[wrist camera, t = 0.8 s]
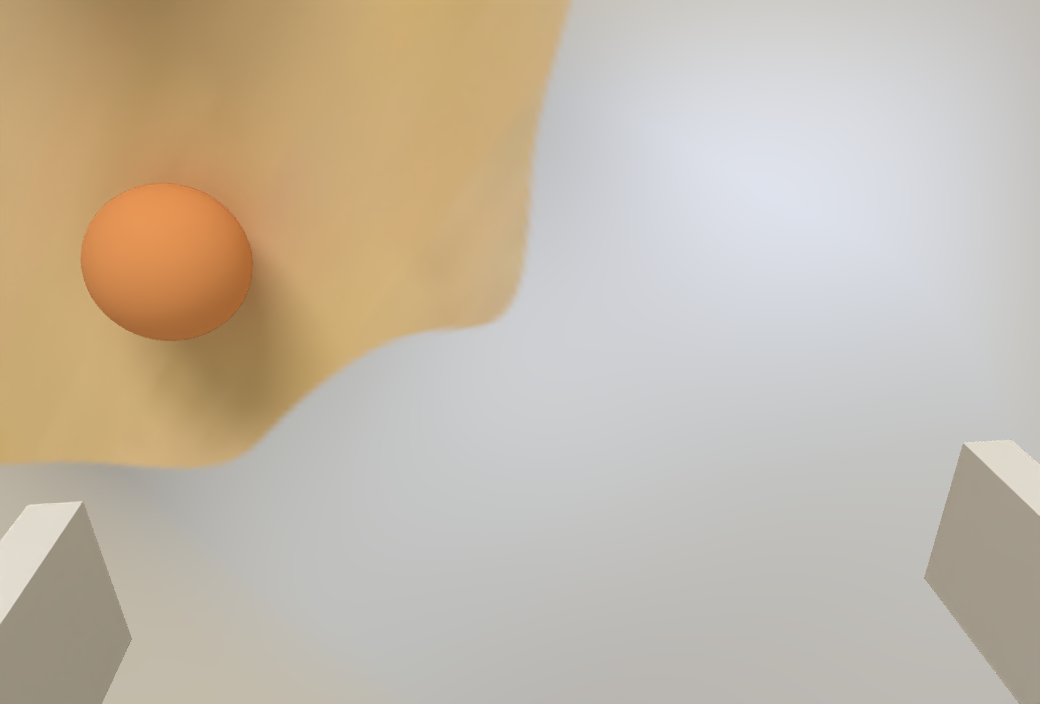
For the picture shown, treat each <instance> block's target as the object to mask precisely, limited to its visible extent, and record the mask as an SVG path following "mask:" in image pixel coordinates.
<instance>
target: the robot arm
mask: <svg viewBox="0 0 1040 704" xmlns="http://www.w3.org/2000/svg"><path fill="white" fill-rule="evenodd" d="M924 578H925V579H926V581H927V582H928V584H929V585H930V586H931V588H932V589H933V590H934V592H935V593H936V594H937V596H938V597H939V598H940V600H941V601H942V602H943V603H944V605H945V606H946V607H947V609H948V610H949V611H950V613H951V614H952V615H953V617H954V618H955V619H956V621H957V622H958V623H959V625H960V626H961V627H962V629H963V630H964V631H965V633H966V634H967V635H968V637H969V638H970V639H971V640H972V642H973V643H974V644H975V646H976V647H977V648H978V650H979V651H980V652H981V654H982V655H983V656H984V658H985V659H986V660H987V662H988V663H989V664H990V665H991V667H992V668H993V670H994V671H995V672H996V674H997V675H998V676H999V677H1000V679H1001V680H1002V681H1003V683H1004V684H1005V685H1006V687H1007V688H1008V689H1009V690H1010V692H1011V693H1012V695H1013V696H1014V697H1015V699H1016V700H1017V701H1018V703H1019V704H1040V465H1039V464H1038V463H1037V462H1036V461H1035V460H1034V459H1033V458H1032V457H1030V456H1029V455H1028V454H1027V453H1026V452H1025V451H1023V450H1022V449H1021V448H1020V447H1019V446H1018V445H1017V444H1015V443H1014V442H1013V441H1012V440H999V441H984V442H969V443H963V445H962V449H961V453H960V456H959V459H958V463H957V466H956V470H955V473H954V477H953V480H952V484H951V487H950V491H949V494H948V497H947V501H946V504H945V508H944V511H943V515H942V518H941V522H940V525H939V529H938V532H937V536H936V539H935V542H934V546H933V550H932V553H931V556H930V560H929V563H928V567H927V570H926V574H925V577H924ZM131 640H132V638H131V635H130V632H129V630H128V627H127V624H126V621H125V618H124V616H123V613H122V610H121V607H120V605H119V601H118V599H117V596H116V593H115V590H114V587H113V585H112V582H111V579H110V576H109V573H108V570H107V567H106V565H105V562H104V559H103V556H102V554H101V551H100V548H99V545H98V542H97V539H96V536H95V534H94V531H93V528H92V525H91V522H90V520H89V517H88V514H87V511H86V508H85V505H84V503H83V501H79V502H63V503H48V504H33V505H27V507H26V508H25V509H24V511H23V512H22V513H21V514H20V516H19V517H18V518H17V520H16V521H15V522H14V524H13V525H12V526H11V527H10V529H9V530H8V531H7V533H6V534H5V535H4V537H3V538H2V539H1V541H0V704H102V702H103V699H104V697H105V695H106V693H107V691H108V689H109V687H110V684H111V683H112V680H113V678H114V676H115V674H116V672H117V670H118V667H119V665H120V663H121V661H122V659H123V657H124V655H125V652H126V650H127V648H128V646H129V644H130V642H131Z"/></svg>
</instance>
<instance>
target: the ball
mask: <svg viewBox="0 0 1040 704" xmlns="http://www.w3.org/2000/svg"><path fill="white" fill-rule="evenodd" d="M81 268H82V273H83V277H84V281H85V284H86V286H87V289H88V291H89V293H90V295H91V297H92V298H93V300H94V301H95V303H96V304H97V306H98V307H99V308H100V309H101V310H102V311H103V312H104V313H105V314H106V315H107V316H108V317H109V318H110V319H111V320H113V321H114V322H115V323H117V324H118V325H119V326H121V327H123V328H124V329H126V330H128V331H130V332H132V333H135V334H137V335H140V336H143V337H146V338H150V339H155V340H164V341H177V340H186V339H191V338H195V337H198V336H201V335H203V334H206V333H209V332H211V331H212V330H214V329H216V328H218V327H219V326H220V325H222V324H223V323H225V322H226V321H227V320H228V319H229V318H230V317H231V316H232V315H233V314H234V313H235V312H236V311H237V309H238V308H239V307H240V305H241V304H242V302H243V300H244V298H245V297H246V294H247V292H248V289H249V286H250V283H251V278H252V253H251V249H250V245H249V242H248V240H247V237H246V235H245V232H244V231H243V229H242V227H241V225H240V224H239V222H238V221H237V220H236V218H235V217H234V216H233V215H232V213H231V212H230V211H229V210H228V209H227V208H226V207H224V206H223V205H222V204H221V203H220V202H218V201H217V200H215V199H214V198H212V197H211V196H209V195H207V194H205V193H203V192H201V191H198V190H196V189H193V188H189V187H186V186H182V185H175V184H163V183H159V184H149V185H144V186H140V187H135V188H133V189H130V190H128V191H125V192H124V193H122V194H120V195H118V196H116V197H115V198H113V199H112V200H110V201H109V202H108V203H107V204H105V205H104V206H103V207H102V208H101V210H100V211H99V212H98V213H97V214H96V215H95V217H94V218H93V220H92V221H91V223H90V225H89V227H88V229H87V231H86V233H85V236H84V240H83V244H82V251H81Z"/></svg>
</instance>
